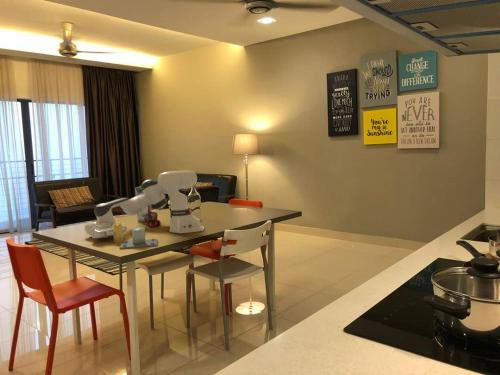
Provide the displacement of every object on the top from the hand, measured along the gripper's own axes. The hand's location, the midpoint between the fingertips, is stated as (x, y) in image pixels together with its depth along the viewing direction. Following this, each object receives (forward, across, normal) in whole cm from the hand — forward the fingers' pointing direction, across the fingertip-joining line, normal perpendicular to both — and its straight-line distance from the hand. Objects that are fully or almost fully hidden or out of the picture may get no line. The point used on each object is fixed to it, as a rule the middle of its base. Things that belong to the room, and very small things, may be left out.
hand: (119, 232), depth 241 cm
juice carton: (-37, -52, -6) cm, 64 cm away
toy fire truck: (-15, -41, -6) cm, 44 cm away
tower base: (+17, 0, -6) cm, 18 cm away
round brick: (-1, 0, -6) cm, 6 cm away
